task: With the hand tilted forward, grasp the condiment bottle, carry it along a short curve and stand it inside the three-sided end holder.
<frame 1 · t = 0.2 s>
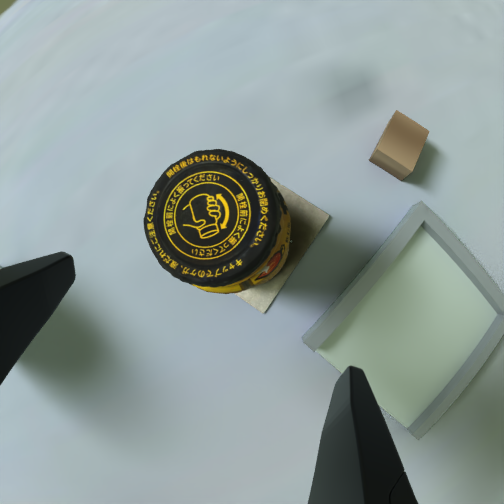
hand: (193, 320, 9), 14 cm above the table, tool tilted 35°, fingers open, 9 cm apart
holder: (415, 331, 21), on the table
tan block: (394, 151, 22), on the table
condiment: (255, 236, 23), on the table
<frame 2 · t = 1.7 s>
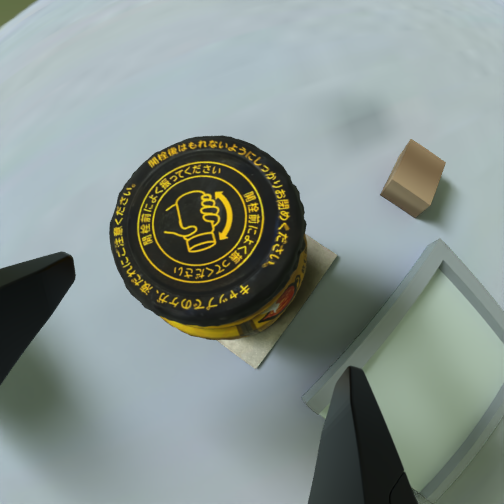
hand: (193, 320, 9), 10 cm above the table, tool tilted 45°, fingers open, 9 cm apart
holder: (431, 386, 17), on the table
tan block: (407, 185, 21), on the table
condiment: (249, 277, 20), on the table
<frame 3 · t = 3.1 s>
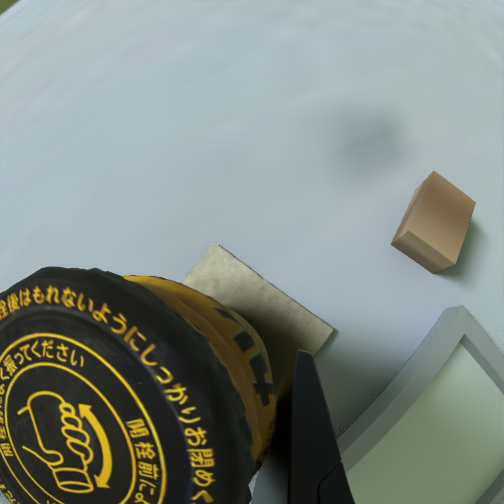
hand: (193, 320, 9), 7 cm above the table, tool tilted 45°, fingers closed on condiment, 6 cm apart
holder: (432, 469, 12), on the table
tan block: (425, 229, 16), on the table
condiment: (220, 354, 15), on the table, touching gripper
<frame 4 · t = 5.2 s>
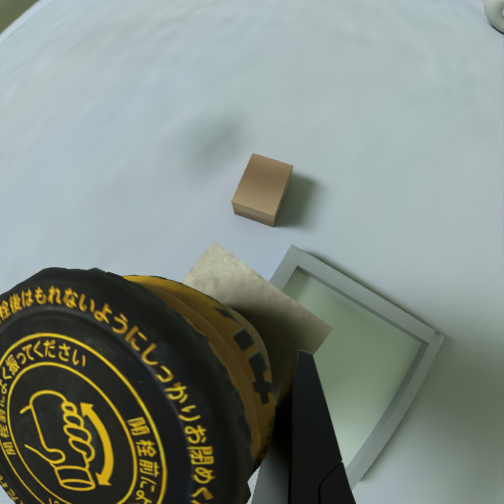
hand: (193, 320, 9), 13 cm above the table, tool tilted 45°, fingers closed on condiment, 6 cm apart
holder: (317, 382, 20), on the table
tan block: (263, 196, 24), on the table
donut: (498, 30, 30), on the table
condiment: (220, 353, 15), point 6 cm above the table, touching gripper
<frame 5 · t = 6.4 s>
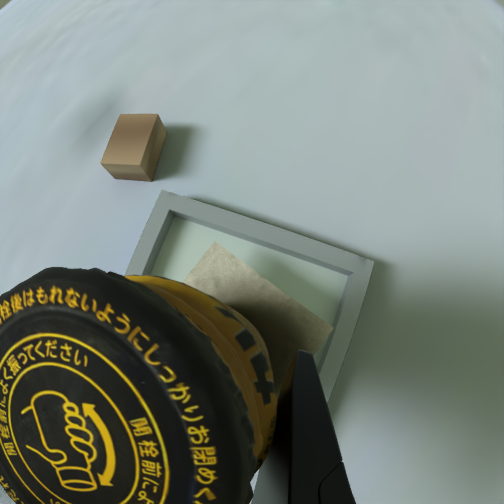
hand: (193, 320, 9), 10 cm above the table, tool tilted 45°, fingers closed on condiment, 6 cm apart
holder: (223, 342, 18), on the table
tan block: (140, 155, 21), on the table
condiment: (221, 352, 15), point 3 cm above the table, touching gripper
when the fingers open (8 cm above the table, at t = 7.2 s): condiment stays where it is, resting on holder.
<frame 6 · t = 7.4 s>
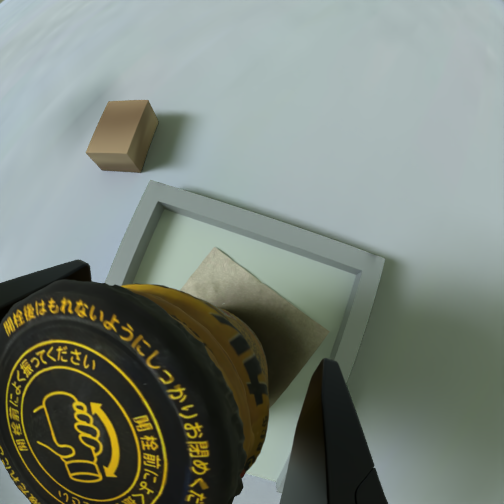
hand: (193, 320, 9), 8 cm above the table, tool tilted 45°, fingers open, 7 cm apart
holder: (217, 349, 16), on the table
tan block: (130, 145, 19), on the table
condiment: (220, 355, 16), resting on holder
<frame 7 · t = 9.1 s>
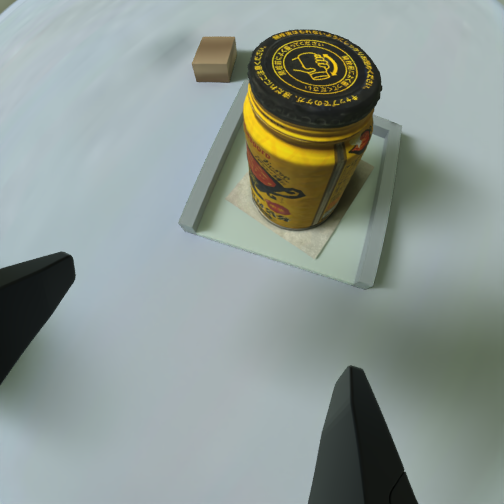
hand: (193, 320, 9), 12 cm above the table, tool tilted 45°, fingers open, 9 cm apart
holder: (299, 182, 22), on the table
tan block: (217, 67, 26), on the table
condiment: (302, 183, 22), resting on holder
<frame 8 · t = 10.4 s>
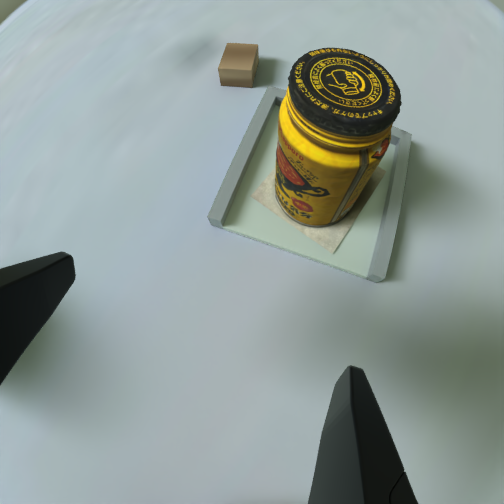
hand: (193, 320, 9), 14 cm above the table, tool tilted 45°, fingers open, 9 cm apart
holder: (317, 183, 24), on the table
tan block: (240, 72, 27), on the table
condiment: (321, 184, 24), resting on holder
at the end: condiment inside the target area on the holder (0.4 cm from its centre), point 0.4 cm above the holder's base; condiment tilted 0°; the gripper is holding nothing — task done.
